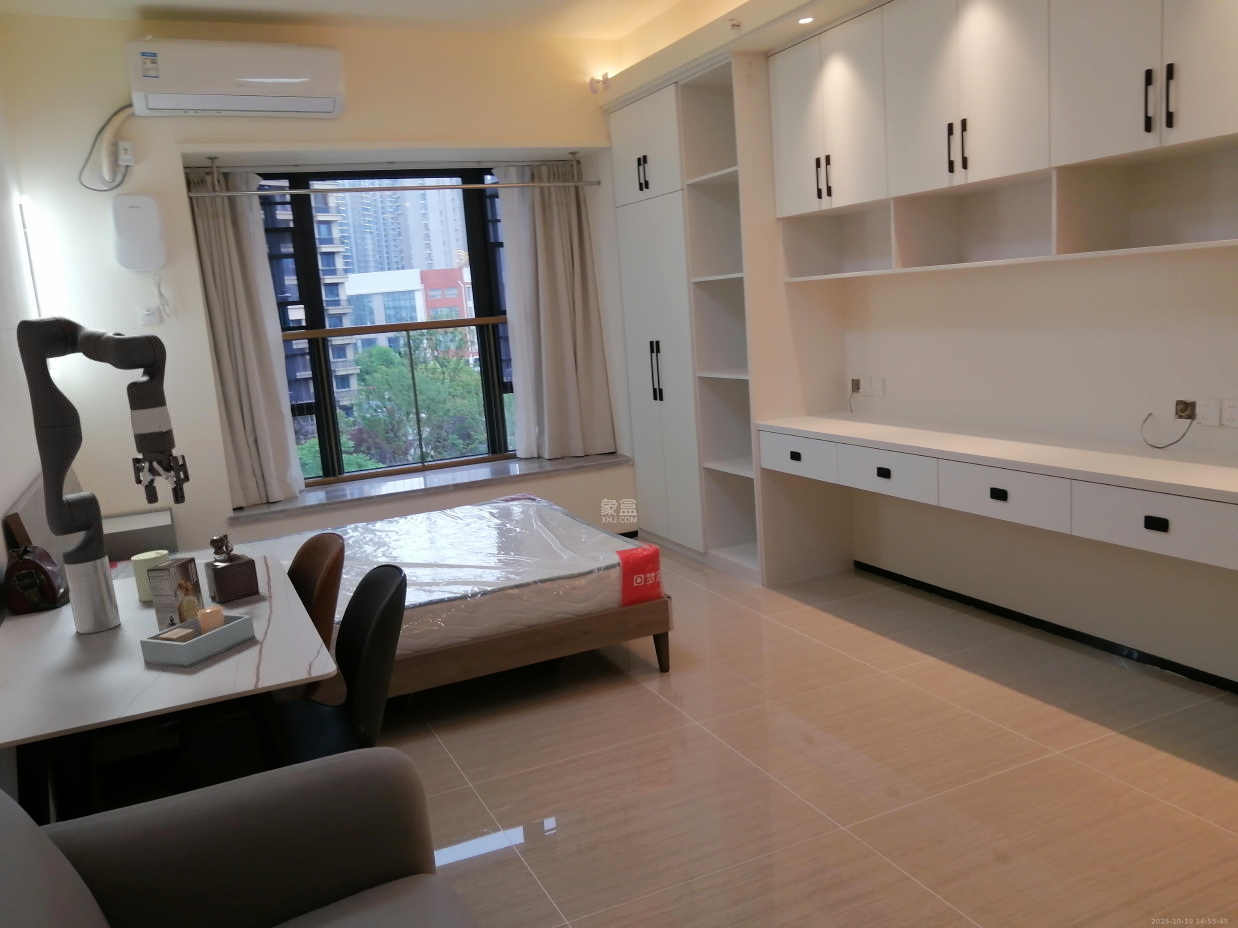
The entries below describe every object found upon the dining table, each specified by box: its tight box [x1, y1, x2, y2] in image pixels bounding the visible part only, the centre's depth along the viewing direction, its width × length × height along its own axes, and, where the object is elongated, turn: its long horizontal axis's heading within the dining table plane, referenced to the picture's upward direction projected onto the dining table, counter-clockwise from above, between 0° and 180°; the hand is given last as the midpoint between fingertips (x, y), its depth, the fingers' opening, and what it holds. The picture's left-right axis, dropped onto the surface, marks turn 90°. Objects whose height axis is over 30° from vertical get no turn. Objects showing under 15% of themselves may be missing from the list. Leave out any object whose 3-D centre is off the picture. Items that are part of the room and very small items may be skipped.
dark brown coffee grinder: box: [203, 533, 260, 604], centre depth 239 cm, size 16×11×18 cm
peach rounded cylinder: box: [197, 605, 225, 635], centre depth 204 cm, size 5×5×7 cm
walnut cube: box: [158, 628, 196, 643], centre depth 197 cm, size 5×5×5 cm
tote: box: [139, 612, 256, 668], centre depth 201 cm, size 14×18×5 cm
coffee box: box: [147, 556, 205, 633], centre depth 217 cm, size 9×6×16 cm
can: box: [130, 549, 170, 602], centre depth 250 cm, size 9×9×12 cm
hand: (166, 503), depth 200 cm, fingers open, 8 cm apart
